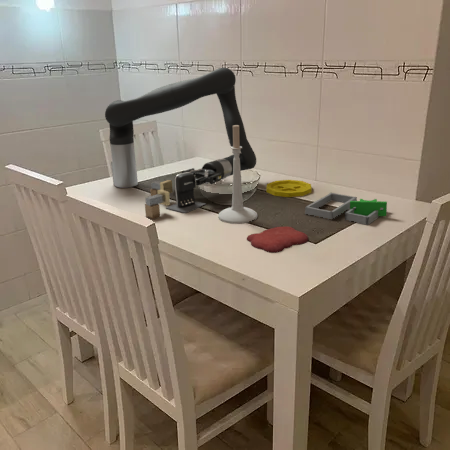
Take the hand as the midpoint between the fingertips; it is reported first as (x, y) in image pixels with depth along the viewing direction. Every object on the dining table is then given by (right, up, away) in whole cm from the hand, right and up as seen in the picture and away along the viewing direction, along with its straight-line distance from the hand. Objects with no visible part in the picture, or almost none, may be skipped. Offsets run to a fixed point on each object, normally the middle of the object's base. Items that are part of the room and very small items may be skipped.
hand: (187, 180), depth 165 cm
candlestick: (+17, -13, -9) cm, 23 cm away
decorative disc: (+37, -3, +17) cm, 41 cm away
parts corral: (+53, -11, -8) cm, 55 cm away
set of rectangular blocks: (-11, -9, +2) cm, 14 cm away
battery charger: (0, -9, +2) cm, 9 cm away
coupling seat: (-1, -9, +2) cm, 9 cm away
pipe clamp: (+59, -12, -11) cm, 61 cm away
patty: (+28, -20, -27) cm, 44 cm away
